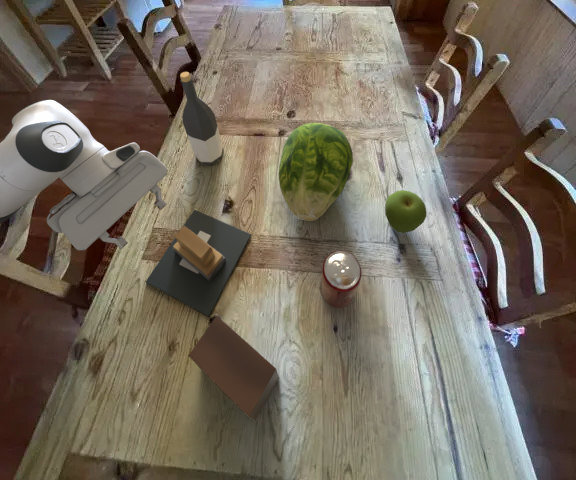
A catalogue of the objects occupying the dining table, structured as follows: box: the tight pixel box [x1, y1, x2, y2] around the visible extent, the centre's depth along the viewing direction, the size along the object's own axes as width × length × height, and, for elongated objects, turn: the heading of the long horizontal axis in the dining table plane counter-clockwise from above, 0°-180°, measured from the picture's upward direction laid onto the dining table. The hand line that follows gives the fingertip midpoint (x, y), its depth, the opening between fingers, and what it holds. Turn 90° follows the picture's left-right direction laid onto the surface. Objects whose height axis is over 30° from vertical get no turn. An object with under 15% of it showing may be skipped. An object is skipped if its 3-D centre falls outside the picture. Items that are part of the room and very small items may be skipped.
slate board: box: [145, 209, 252, 318], centre depth 76 cm, size 18×16×1 cm
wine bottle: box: [179, 71, 224, 166], centre depth 87 cm, size 8×8×30 cm
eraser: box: [173, 225, 226, 281], centre depth 73 cm, size 5×11×8 cm, turn 55°
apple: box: [384, 189, 427, 234], centre depth 77 cm, size 9×8×12 cm
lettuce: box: [278, 122, 354, 222], centre depth 83 cm, size 18×23×19 cm
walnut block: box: [187, 315, 280, 422], centre depth 58 cm, size 7×13×11 cm, turn 55°
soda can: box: [319, 249, 363, 309], centre depth 67 cm, size 7×7×12 cm
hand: (144, 225), depth 67 cm, fingers open, 8 cm apart
